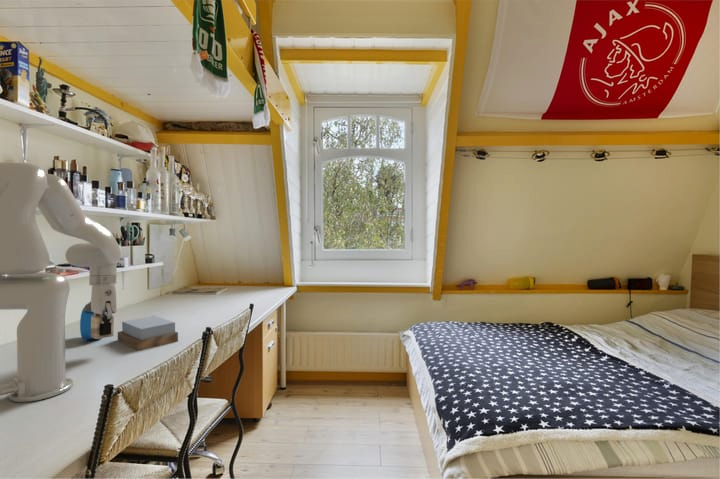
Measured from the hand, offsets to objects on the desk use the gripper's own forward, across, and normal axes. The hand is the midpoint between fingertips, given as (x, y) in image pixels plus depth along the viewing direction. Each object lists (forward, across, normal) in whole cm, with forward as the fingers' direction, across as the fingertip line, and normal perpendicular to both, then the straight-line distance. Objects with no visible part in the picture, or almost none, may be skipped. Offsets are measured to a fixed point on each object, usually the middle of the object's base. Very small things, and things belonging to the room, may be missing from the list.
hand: (102, 333), depth 121 cm
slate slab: (+4, +6, -17) cm, 18 cm away
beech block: (+1, 0, 0) cm, 1 cm away
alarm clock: (+7, +25, -5) cm, 26 cm away
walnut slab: (+8, +6, -17) cm, 20 cm away
